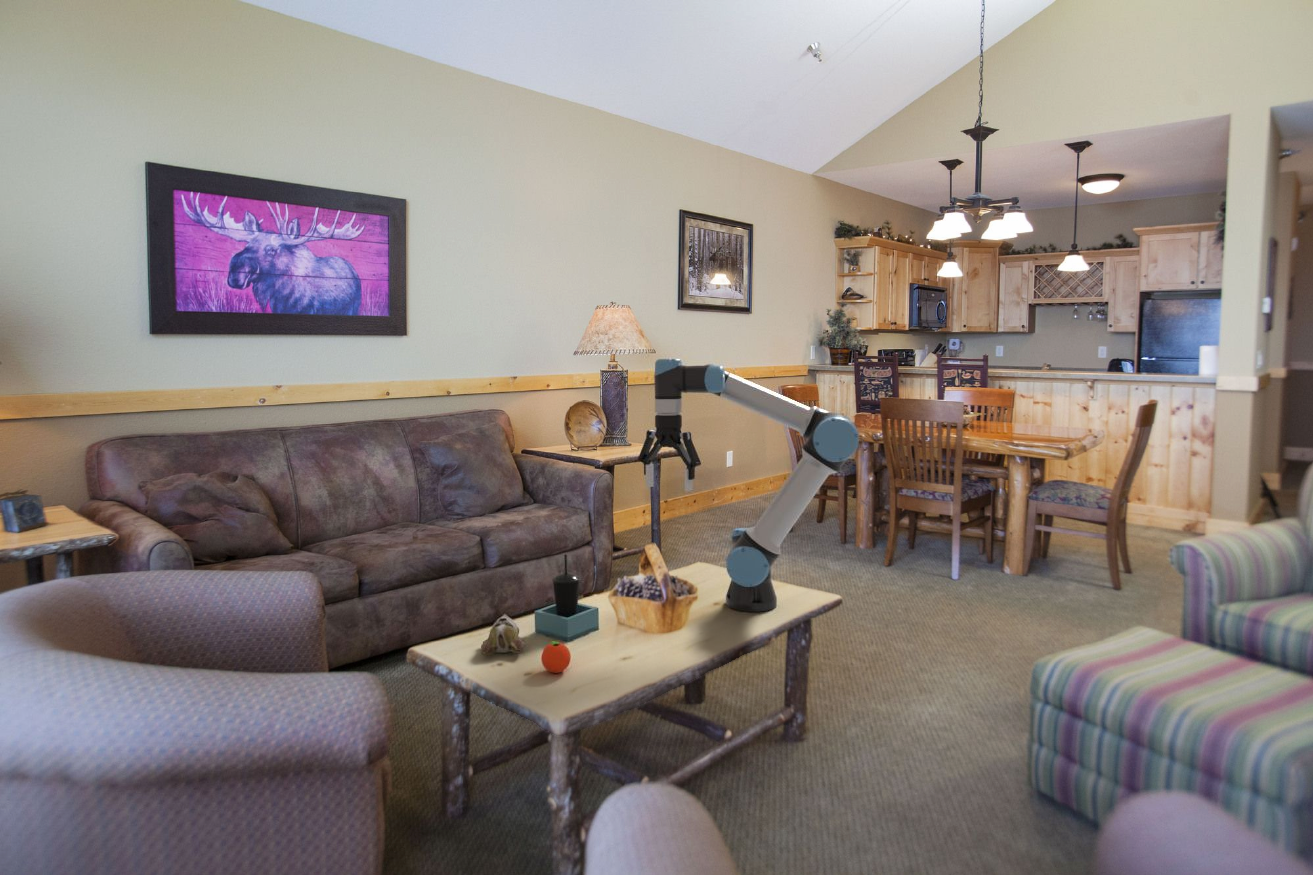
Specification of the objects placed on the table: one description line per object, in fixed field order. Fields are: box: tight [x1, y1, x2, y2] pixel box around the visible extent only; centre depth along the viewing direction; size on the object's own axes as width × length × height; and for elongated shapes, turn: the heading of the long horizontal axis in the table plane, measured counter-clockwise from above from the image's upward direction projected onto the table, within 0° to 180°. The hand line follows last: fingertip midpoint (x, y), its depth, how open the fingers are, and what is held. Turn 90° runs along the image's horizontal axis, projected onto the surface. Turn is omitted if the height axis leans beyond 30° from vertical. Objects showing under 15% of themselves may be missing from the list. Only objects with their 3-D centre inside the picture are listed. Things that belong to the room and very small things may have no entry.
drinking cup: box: [551, 554, 581, 618], centre depth 218 cm, size 8×8×20 cm
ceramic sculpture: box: [480, 613, 525, 656], centre depth 205 cm, size 11×9×15 cm
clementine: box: [540, 641, 572, 674], centre depth 192 cm, size 8×7×7 cm
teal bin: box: [534, 602, 600, 643], centre depth 219 cm, size 12×12×6 cm
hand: (668, 489), depth 228 cm, fingers open, 13 cm apart
